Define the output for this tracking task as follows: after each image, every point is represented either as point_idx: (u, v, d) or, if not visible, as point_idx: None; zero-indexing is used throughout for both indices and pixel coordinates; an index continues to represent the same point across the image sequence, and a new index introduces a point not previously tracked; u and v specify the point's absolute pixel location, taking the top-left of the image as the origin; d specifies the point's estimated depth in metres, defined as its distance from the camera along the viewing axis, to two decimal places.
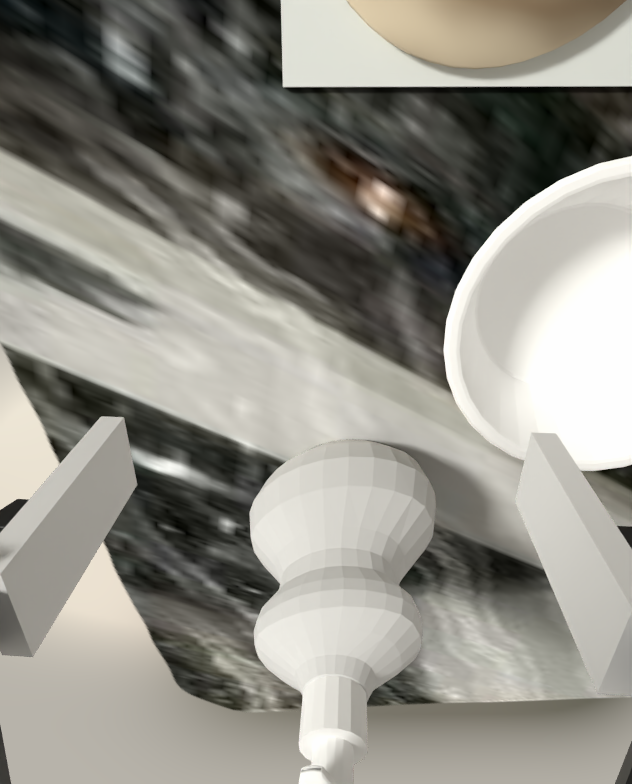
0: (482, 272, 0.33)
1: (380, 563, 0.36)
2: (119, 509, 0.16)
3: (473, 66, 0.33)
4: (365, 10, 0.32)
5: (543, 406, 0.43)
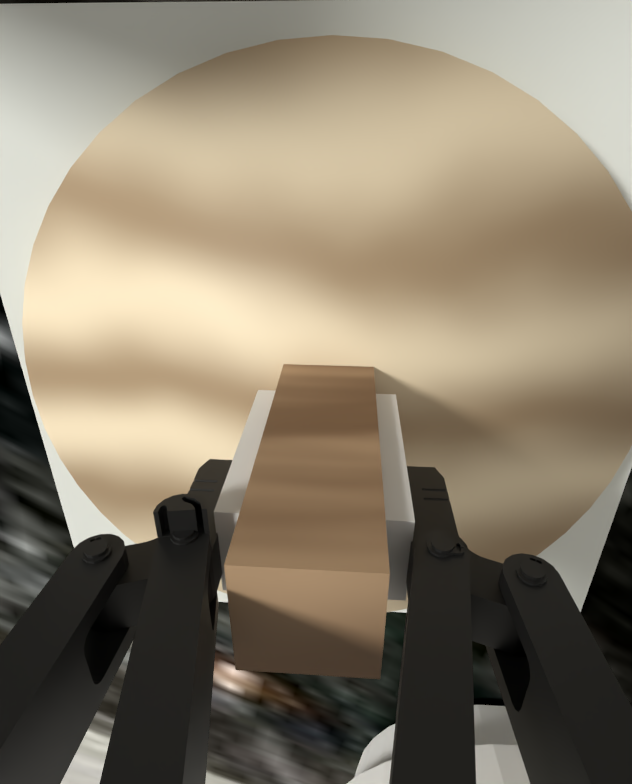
0: None
1: None
2: None
3: None
4: None
5: None
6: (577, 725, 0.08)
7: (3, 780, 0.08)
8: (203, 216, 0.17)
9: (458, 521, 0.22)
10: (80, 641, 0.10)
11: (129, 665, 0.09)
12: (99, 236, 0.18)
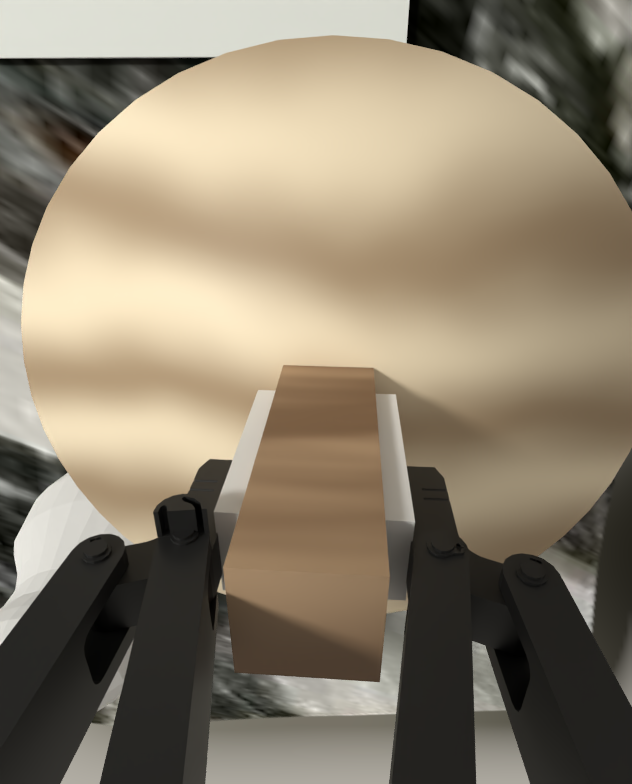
0: None
1: None
2: None
3: None
4: None
5: None
6: (577, 725, 0.08)
7: (3, 780, 0.08)
8: (203, 216, 0.17)
9: (457, 523, 0.22)
10: (81, 641, 0.10)
11: (129, 665, 0.09)
12: (99, 237, 0.18)
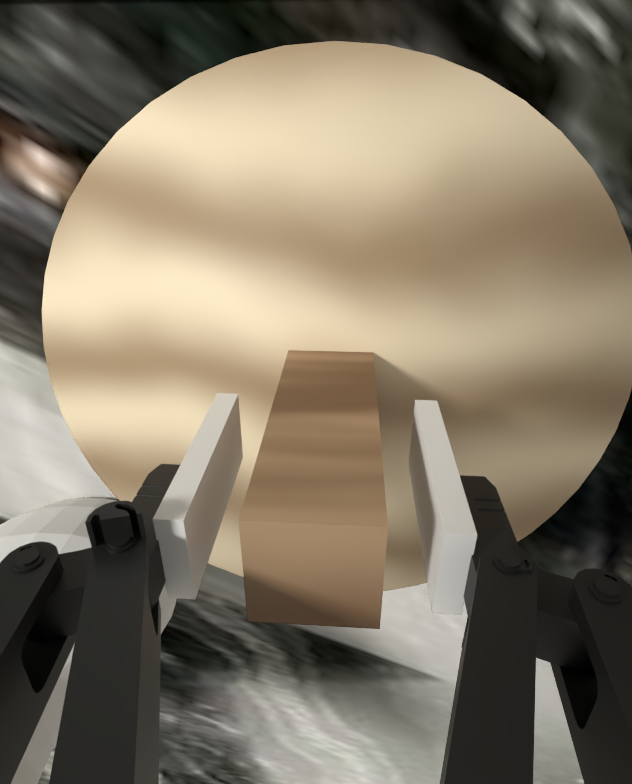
0: None
1: None
2: (234, 478, 0.18)
3: None
4: None
5: None
6: None
7: None
8: (213, 210, 0.18)
9: None
10: (17, 649, 0.10)
11: (70, 679, 0.09)
12: (116, 230, 0.19)
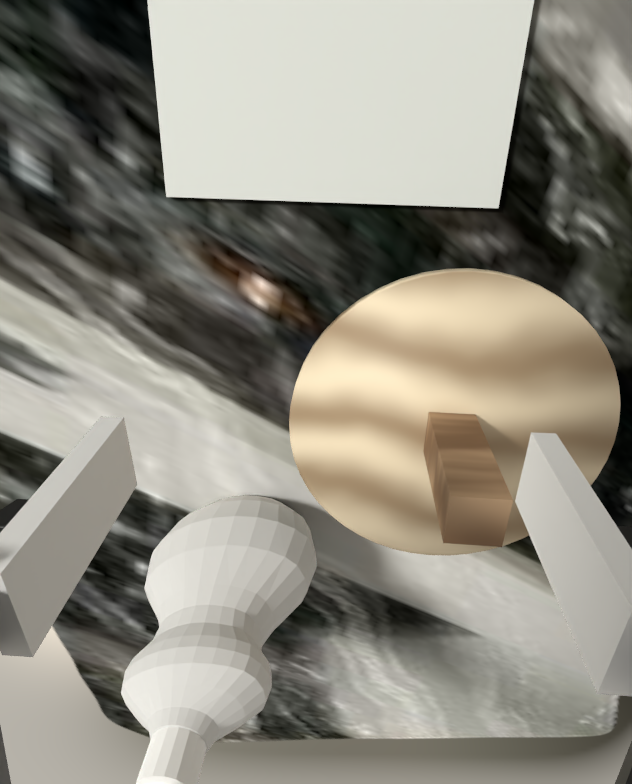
0: None
1: (242, 619, 0.40)
2: (119, 509, 0.16)
3: (425, 553, 0.44)
4: (343, 520, 0.42)
5: None
6: None
7: None
8: (400, 341, 0.35)
9: (512, 498, 0.40)
10: None
11: None
12: (346, 349, 0.36)
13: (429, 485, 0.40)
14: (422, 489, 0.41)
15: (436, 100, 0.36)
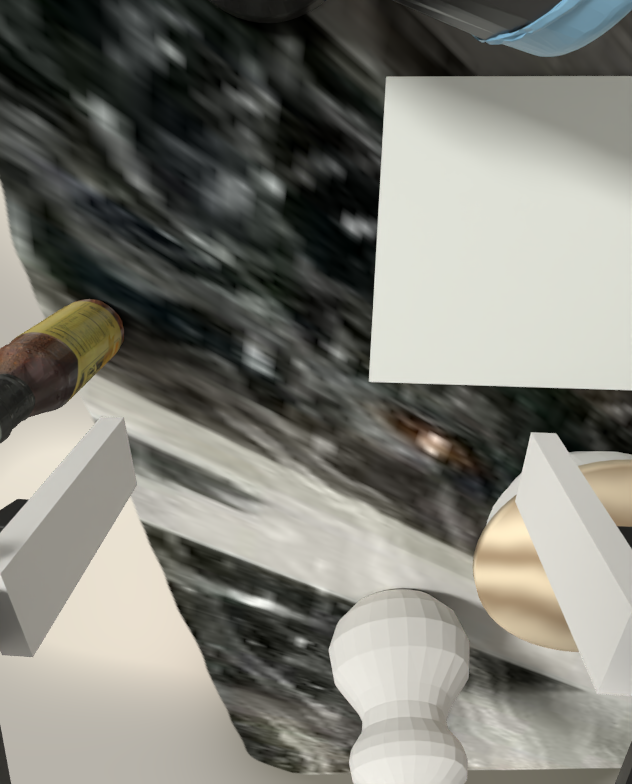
0: None
1: (436, 712, 0.52)
2: (119, 509, 0.16)
3: (570, 650, 0.55)
4: (507, 627, 0.53)
5: None
6: None
7: None
8: None
9: None
10: None
11: None
12: None
13: None
14: None
15: (597, 319, 0.47)
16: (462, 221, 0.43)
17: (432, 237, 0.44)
